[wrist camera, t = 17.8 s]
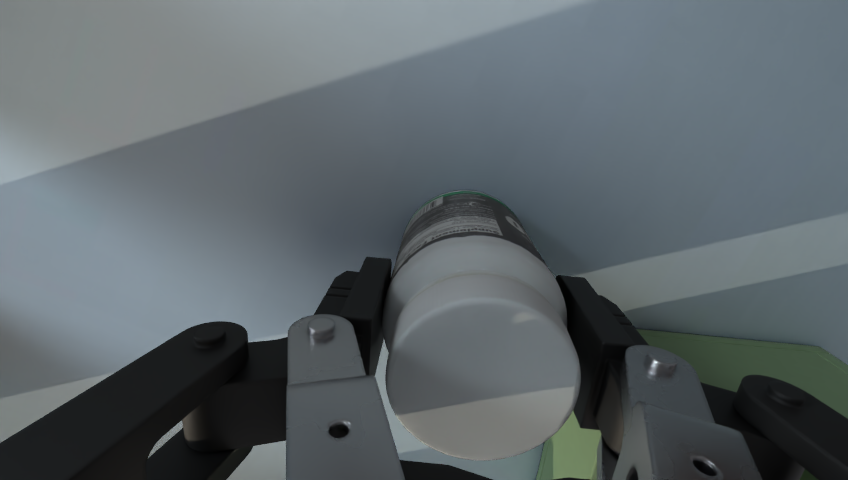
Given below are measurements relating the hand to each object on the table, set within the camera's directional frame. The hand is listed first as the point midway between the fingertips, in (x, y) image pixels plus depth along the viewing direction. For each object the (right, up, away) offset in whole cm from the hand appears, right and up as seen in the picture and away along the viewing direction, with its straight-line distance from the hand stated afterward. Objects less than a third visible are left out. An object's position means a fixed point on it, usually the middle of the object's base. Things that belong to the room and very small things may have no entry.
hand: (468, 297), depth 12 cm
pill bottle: (0, +2, +4) cm, 5 cm away
